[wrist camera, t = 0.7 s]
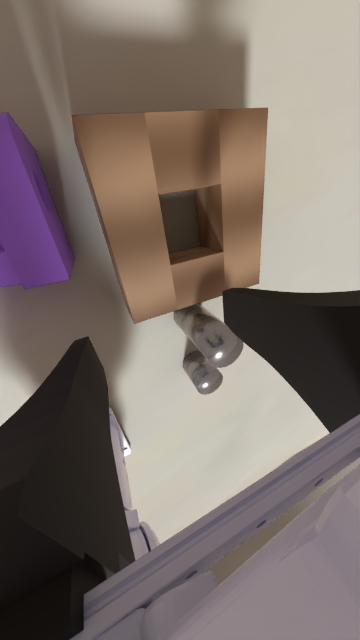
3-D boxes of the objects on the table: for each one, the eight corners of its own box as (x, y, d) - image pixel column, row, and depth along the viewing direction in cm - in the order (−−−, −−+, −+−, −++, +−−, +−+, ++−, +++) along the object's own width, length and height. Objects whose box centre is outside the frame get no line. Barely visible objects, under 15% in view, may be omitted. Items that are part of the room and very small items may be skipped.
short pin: (206, 366, 27) (223, 387, 24) (184, 375, 26) (198, 398, 23) (204, 347, 25) (222, 366, 22) (180, 356, 25) (195, 378, 21)
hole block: (233, 273, 22) (258, 283, 19) (126, 305, 19) (134, 323, 16) (231, 129, 16) (267, 107, 13) (74, 140, 13) (71, 115, 10)
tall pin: (201, 321, 24) (243, 359, 17) (176, 330, 23) (210, 373, 17) (198, 296, 22) (243, 327, 16) (171, 305, 21) (207, 341, 15)
